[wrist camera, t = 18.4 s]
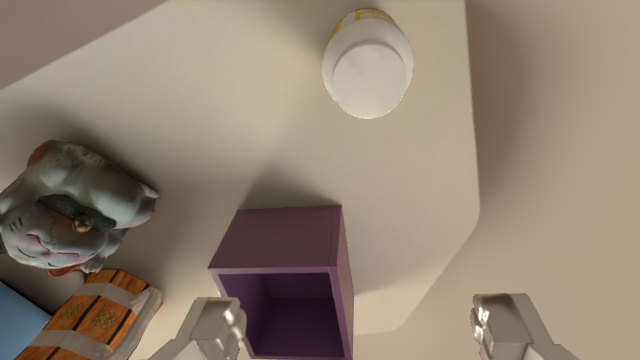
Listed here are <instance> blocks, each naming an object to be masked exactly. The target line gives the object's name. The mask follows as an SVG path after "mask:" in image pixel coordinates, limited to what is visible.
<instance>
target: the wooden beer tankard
mask: <svg viewBox="0 0 640 360" xmlns="http://www.w3.org/2000/svg"><path fill="white" fill-rule="evenodd" d="M161 298H162V293H161V292H160V290H158V289H156V288H152V287H151V285H150V284H149V283H147V282H144V281H142V280H140V279H138V278H136V277H134V276H132V275H130V274H128V273H126V272H124V271H121V270H99V271H98V273H96V272H91V273H90V274H89V276H88V277H87V278H86V280H85V281H84V283H83V284H82V285H81V286H80V287H79V289H78V290H77V291H76V292H75V293H74V294H73V295H72V296H71V297H70V298H69V299H68V300H67V301H66V302H65V303H64V304H63V305H62V306H61V307H60V308H59V309H58V310H57V311H56V312H55V313H54V315H53V316H52V317H51V319H50V320H49V321H48V323H47V324H46V325H45V327H44V328H43V329H42V330H41V332H40V333H39V334H38V335H37V336H36V337H35V338H34V339H33V341H32V342H31V343H30V344H29V345H28V346H27V347H26V348H25V349H24V350H23V351H22V352H21V353H20V354H19V355H18V356H17V357H16V358H14V359H13V360H128V359H129V357H130V356H131V354H132V353H133V351H134V350H135V349H136V347H137V346H138V344H139V342H140V340H141V338H142V336H143V333H144V331H145V329H146V327H147V326H148V324H149V322H150V321H151V319H152V318H153V316H154V315H155V314H156V312H157V311H158V309H159V308H160V307H161V305H162V304H163V303H162V302H161Z"/></svg>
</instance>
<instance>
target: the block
mask: <svg viewBox="0 0 640 360" xmlns="http://www.w3.org/2000/svg"><path fill="white" fill-rule="evenodd" d="M51 317H52V316H51V315H49V314H48V313H46V312H45V311H43V310H42V309H40V308H39V307H37V306H36V305H34V304H33V303H31V302H30V301H28V300H27V299H25V298H24V297H22V296H21V295H19V294H18V293H16V292H15V291H13V290H12V289H10V288H9V287H7V286H6V285H4V284H3V283H1V282H0V360H13V359H14V358H16V357H17V356H18V355H19V354H20V353H21V352H22V351H23V350H24V349H25V348H26V347H27V346H28V345H29V344H30V343H31V342H32V341H33V339H34V338H35V337H36V336H37V335H38V334H39V333H40V332H41V330H42V329H43V328H44V327H45V325H46V324H47V323H48V321H49V320H50V319H51Z"/></svg>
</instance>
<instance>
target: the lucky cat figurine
mask: <svg viewBox="0 0 640 360" xmlns="http://www.w3.org/2000/svg"><path fill="white" fill-rule="evenodd" d="M156 198H160V199H161V197H160V196H159V195H158V194H157V193H156V192H155V191H154V190H153V189H151V188H149V187H147V186H146V185H144V184H142V183H140V182H138V181H136V180H135V179H134V178H132V177H131V176H129V175H128V174H126V173H125V172H123V171H122V170H121V169H119V168H118V167H116V166H115V165H114V164H112V163H111V162H109V161H108V160H106V159H105V158H103V157H101V156H99V155H97V154H95V153H93V152H91V151H89V150H88V149H86V148H85V147H84V146H80V145H77V144H75V143H71V142H65V141H60V140H52V139H51V140H48V141H46V142H44V143H43V144H42V145H40V146H39V147H38V148H36V149H35V151H34V153H33V154H32V155H31V156H30V158H29V160H28V164H27V168H26V170H25V171H24V172H23V173H22V174H21V175H20V176H19V177H18V178H17V179H16V180H15V181H14V182H13V183H11V184H10V185H9V186H8V187H7V188H6V189H4V190H3V191H2V192H1V193H0V255H9V256H11V257H12V258H14V259H15V260H16V261H17V262H19V263H22V264H27V265H31V266H35V267H38V268H45V269H46V273H47V274H48V275H49V276H51V277H53V278H58V277H60V276H62V275H65V274H68V273H70V272H72V271H82V272H85V273H89V272H96V273H98V271H99V270H100V269H101V268H102V267H103V265H104V263H105V260H106V258H107V257H108V256H109V255H111V254H112V253H114V252H115V251H116V249H117V248H118V247H119V246H120V245H121V243H122V239H123V237H124V236H125V234H126V233H127V232H128V231H129V230H130V229H131V228H132V227H134V226H137V225H141V224H143V223H145V222H146V221H148V220H149V218H150V217H151V216H152V214H153V213H154V212H155V209H154V206H155V200H156Z"/></svg>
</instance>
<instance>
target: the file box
mask: <svg viewBox="0 0 640 360" xmlns="http://www.w3.org/2000/svg"><path fill="white" fill-rule="evenodd" d="M208 271H209V273H210V275H211V277H212V279H213V281H214V283H215V285H216V287H217V289H218V291H219V294H220V296H221V297H238V299H239V301H240V306H239V308H241V309H242V310H244V312H245V314H246V319H247V324H246V331H245V334H244V337H243V338H242V341H243V343H244V346H245V348H246V350H247V352H248V354H249V356H250V358H251V359H278V360H353V316H354V294H353V286H352V279H351V271H350V264H349V256H348V249H347V241H346V234H345V227H344V219H343V212H342V205H334V206H314V207H294V208H274V209H254V210H237V212H236V214H235V216H234V218H233V220H232V222H231V224H230V226H229V228H228V229H227V231H226V233H225V235H224V237H223V239H222V241H221V243H220V245H219V247H218V249H217V251H216V253H215V255H214V257H213V259H212V261H211V263H210V265H209V267H208Z"/></svg>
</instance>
